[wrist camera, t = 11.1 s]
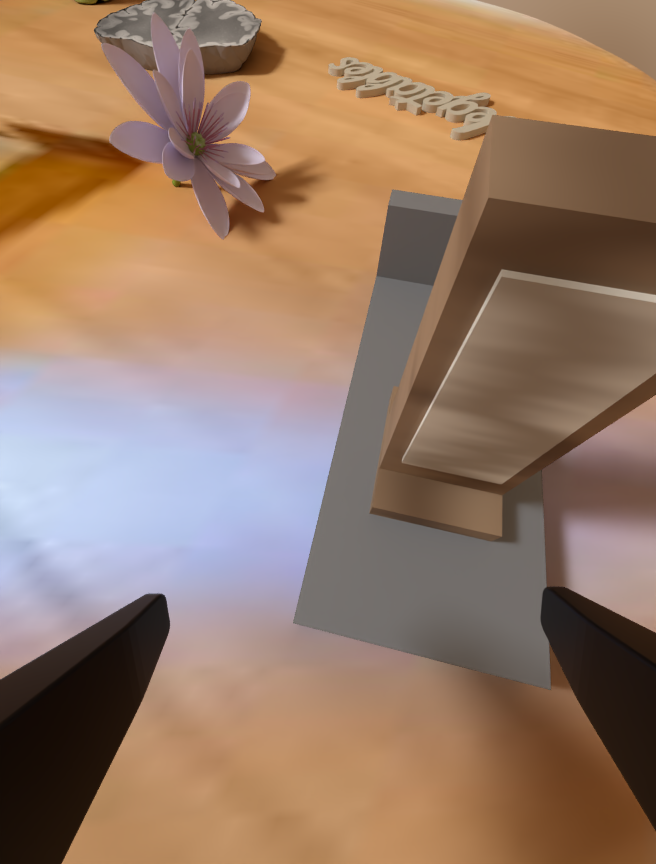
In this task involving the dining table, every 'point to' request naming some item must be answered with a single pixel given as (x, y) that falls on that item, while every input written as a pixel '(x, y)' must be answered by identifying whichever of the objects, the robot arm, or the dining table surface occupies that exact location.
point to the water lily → (188, 125)
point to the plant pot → (88, 1)
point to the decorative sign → (416, 96)
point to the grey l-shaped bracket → (410, 543)
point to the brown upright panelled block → (526, 323)
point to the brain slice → (208, 19)
